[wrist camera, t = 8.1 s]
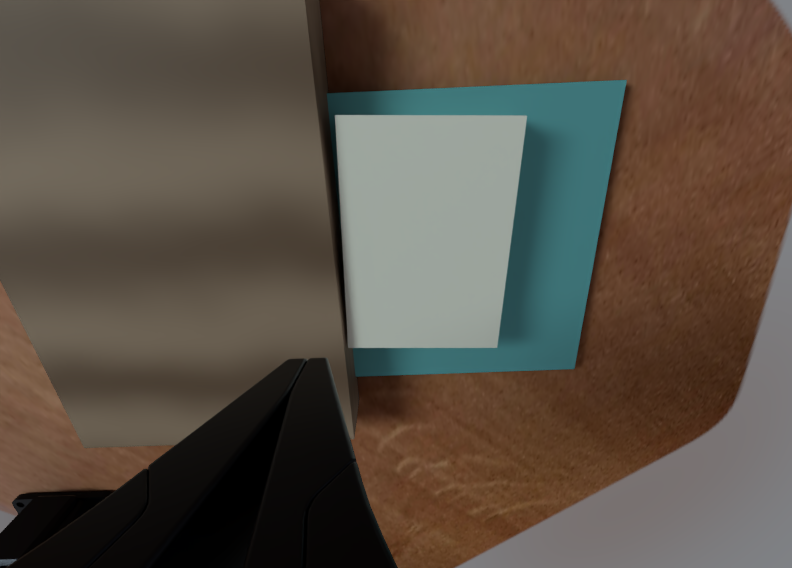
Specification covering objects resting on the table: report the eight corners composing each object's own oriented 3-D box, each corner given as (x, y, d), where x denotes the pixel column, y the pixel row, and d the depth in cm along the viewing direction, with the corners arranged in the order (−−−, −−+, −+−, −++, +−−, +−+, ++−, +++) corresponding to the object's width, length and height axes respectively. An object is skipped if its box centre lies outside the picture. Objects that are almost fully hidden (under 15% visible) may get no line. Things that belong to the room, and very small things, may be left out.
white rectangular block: (487, 326, 20) (496, 347, 18) (352, 326, 20) (348, 347, 18) (511, 115, 16) (527, 115, 14) (341, 114, 16) (334, 115, 14)
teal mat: (570, 363, 21) (574, 368, 21) (356, 371, 22) (355, 376, 21) (620, 80, 16) (626, 79, 15) (328, 93, 16) (326, 93, 15)
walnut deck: (359, 399, 22) (354, 439, 20) (122, 407, 23) (84, 447, 20) (316, -26, 14) (298, -60, 11) (-54, -8, 14) (-159, -37, 12)
